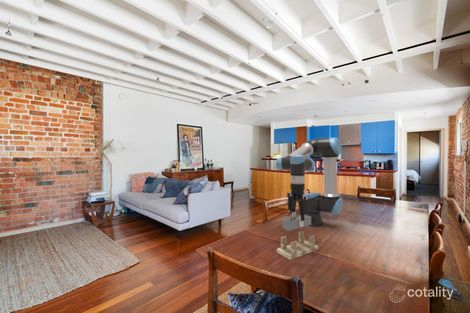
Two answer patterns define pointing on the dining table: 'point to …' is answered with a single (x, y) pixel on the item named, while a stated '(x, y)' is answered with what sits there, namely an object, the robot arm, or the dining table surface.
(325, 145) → the robot arm
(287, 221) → the bar
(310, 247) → the rack
